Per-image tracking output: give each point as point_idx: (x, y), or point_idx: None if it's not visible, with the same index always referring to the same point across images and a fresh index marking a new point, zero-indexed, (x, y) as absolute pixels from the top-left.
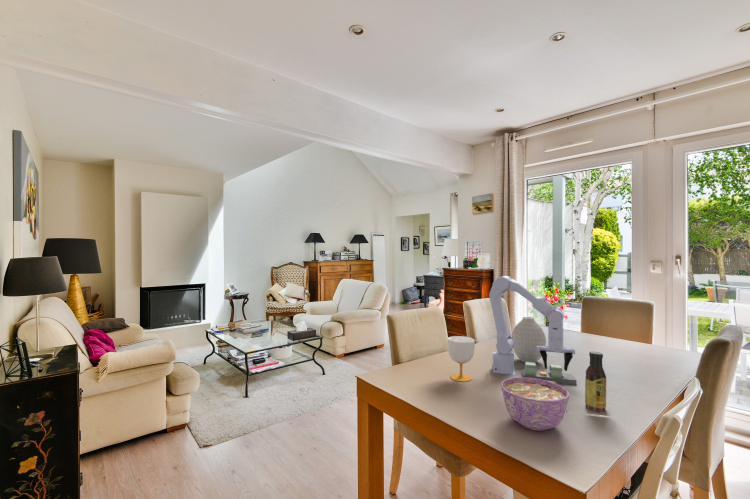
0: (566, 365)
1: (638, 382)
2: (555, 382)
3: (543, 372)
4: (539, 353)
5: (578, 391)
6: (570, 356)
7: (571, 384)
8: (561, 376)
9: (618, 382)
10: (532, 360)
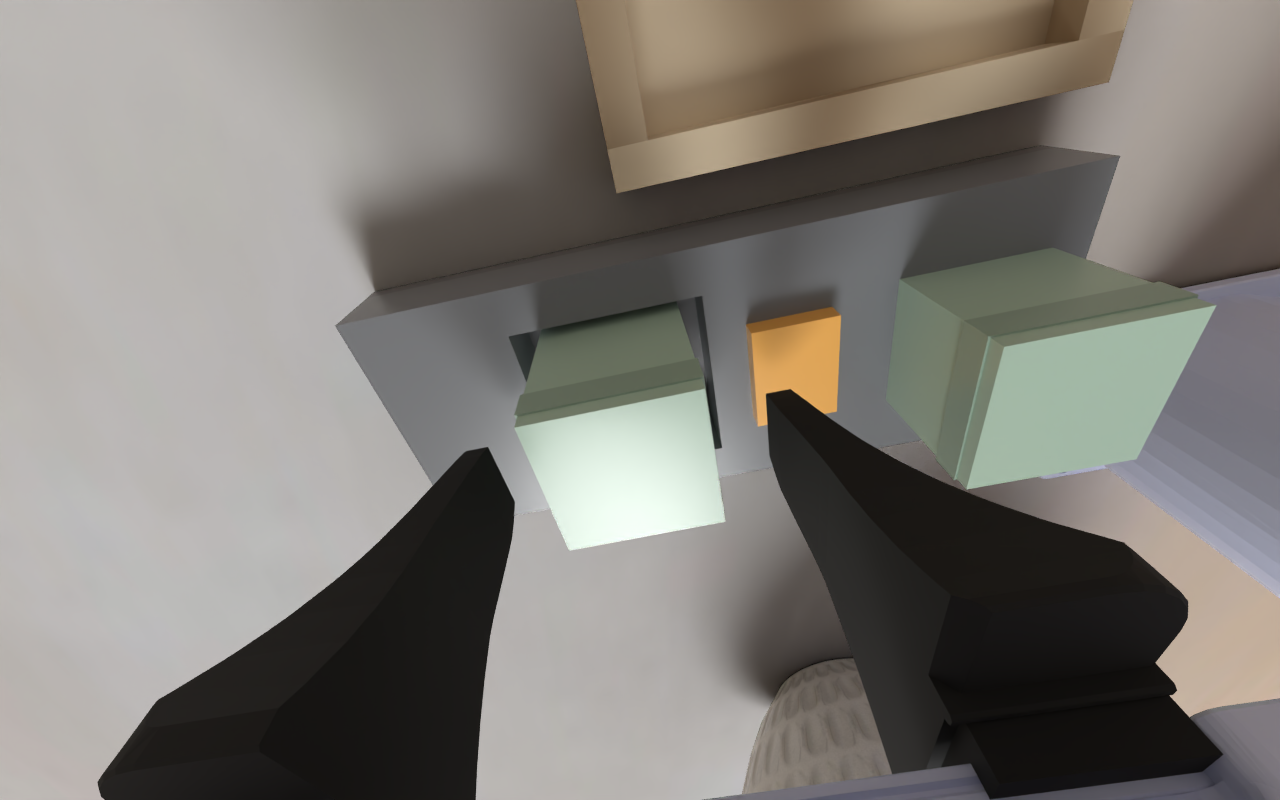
0: (433, 509)
1: (8, 648)
2: (617, 140)
3: (789, 385)
4: (793, 772)
5: (278, 64)
6: (160, 730)
7: (425, 285)
8: (544, 347)
9: (115, 589)
10: (825, 684)
